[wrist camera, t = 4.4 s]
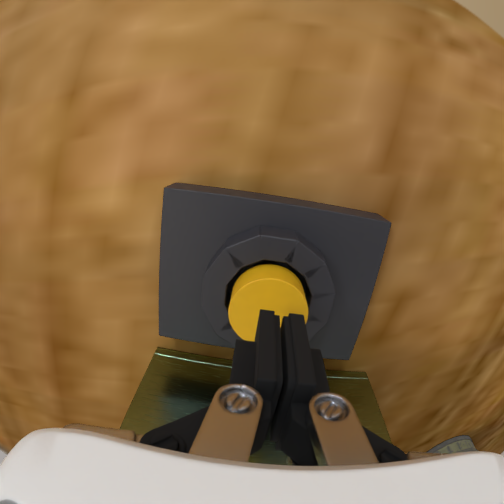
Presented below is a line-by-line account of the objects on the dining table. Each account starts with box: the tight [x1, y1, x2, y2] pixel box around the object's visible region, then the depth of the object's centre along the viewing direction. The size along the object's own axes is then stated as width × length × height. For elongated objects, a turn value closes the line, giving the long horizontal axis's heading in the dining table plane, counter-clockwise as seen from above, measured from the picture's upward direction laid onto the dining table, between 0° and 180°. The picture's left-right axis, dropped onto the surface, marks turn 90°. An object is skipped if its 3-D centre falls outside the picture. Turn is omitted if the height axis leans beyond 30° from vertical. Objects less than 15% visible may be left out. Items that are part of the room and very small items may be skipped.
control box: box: [159, 183, 391, 360], centre depth 17 cm, size 12×9×4 cm
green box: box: [120, 347, 392, 465], centre depth 19 cm, size 16×14×9 cm
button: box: [228, 264, 308, 341], centre depth 15 cm, size 4×4×2 cm
